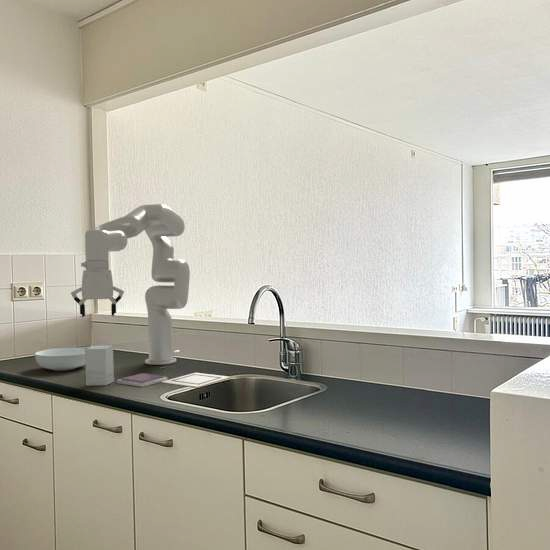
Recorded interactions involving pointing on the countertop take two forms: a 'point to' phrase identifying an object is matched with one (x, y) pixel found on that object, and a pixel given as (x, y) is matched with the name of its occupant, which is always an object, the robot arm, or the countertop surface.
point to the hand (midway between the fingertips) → (98, 316)
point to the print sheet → (196, 379)
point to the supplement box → (99, 365)
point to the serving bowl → (61, 358)
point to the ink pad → (142, 379)
